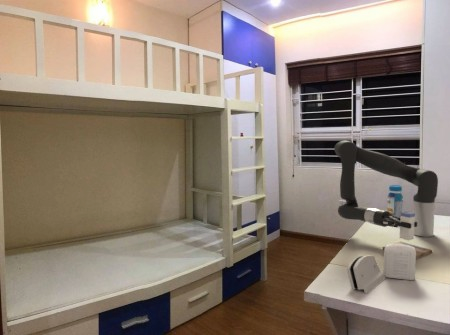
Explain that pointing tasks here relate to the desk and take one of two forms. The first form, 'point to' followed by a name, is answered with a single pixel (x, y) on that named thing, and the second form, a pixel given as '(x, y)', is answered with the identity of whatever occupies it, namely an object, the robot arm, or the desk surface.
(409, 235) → the cartridge
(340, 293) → the desk surface
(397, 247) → the photo printer
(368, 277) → the white black curved block
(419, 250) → the pad
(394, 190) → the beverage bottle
